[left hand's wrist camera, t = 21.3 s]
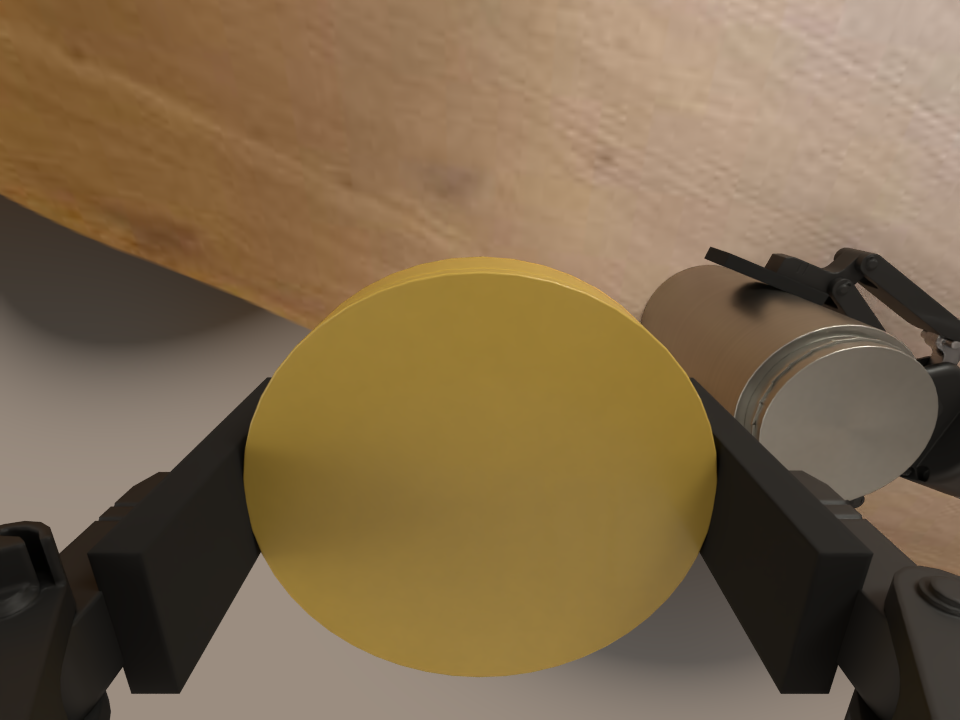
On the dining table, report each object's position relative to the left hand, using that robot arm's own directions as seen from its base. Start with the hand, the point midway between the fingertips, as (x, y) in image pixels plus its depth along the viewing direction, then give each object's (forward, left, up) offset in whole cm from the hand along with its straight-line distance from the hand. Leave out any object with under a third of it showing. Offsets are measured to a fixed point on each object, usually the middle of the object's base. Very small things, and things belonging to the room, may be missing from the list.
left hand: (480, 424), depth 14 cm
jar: (+16, +6, -25) cm, 30 cm away
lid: (0, 0, +3) cm, 3 cm away
